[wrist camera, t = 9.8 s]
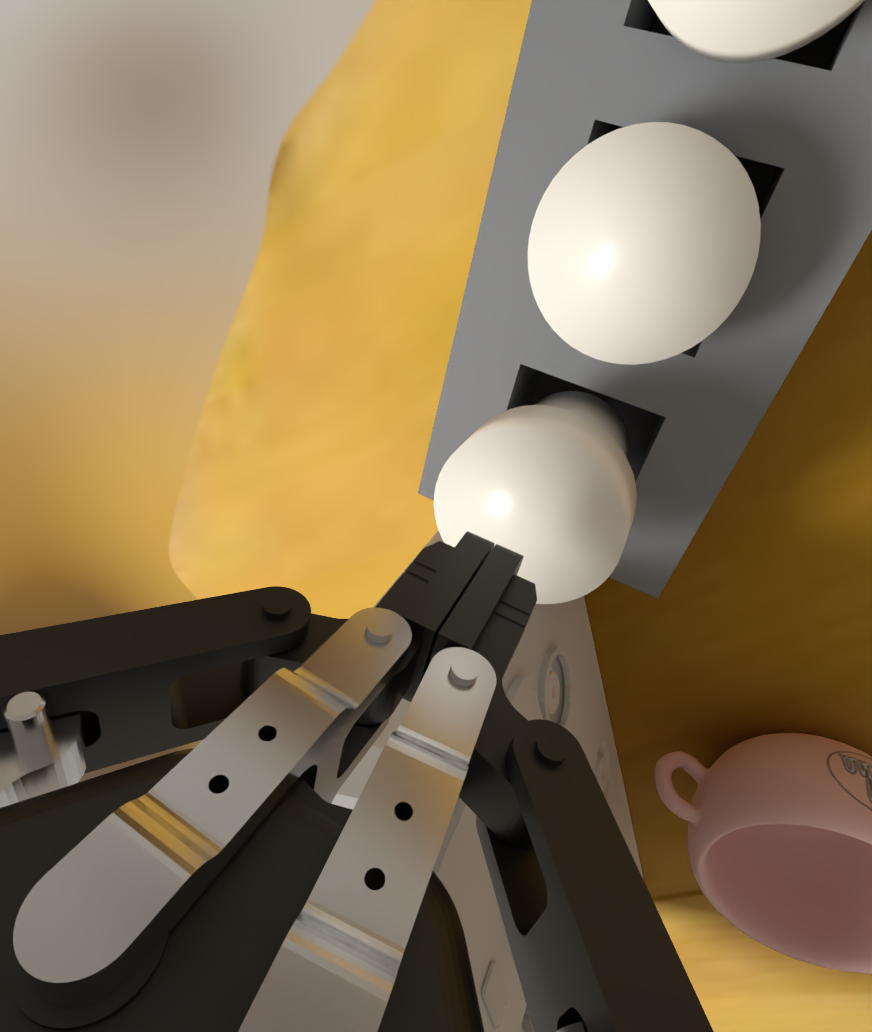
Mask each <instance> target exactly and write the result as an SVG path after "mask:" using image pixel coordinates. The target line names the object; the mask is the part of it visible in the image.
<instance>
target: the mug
mask: <svg viewBox="0 0 872 1032" xmlns="http://www.w3.org/2000/svg"><path fill="white" fill-rule="evenodd" d="M676 768H682V769H684V770H685V771H686V772H687V773H689V774H690V775H691V776H692V778H693V779H694V780H695V781H696V782H697V784H698V787H697V789H696V791H695V794H694V796H693V799H692V802H691V804H690V803H688V802H687V801H685V800H684V799H682V798H681V797H680V796H679V795H678V794H677V792H676V791H675V789H674V786H673V784H672V780H671V775H672V772H673V771H674V770H675V769H676ZM655 784H656V788H657V791H658V794H659V796H660V798H661V800H662V801H663V803H664V804H665V806H666V807H667V808H668V809H669V810H670V811H671V812H673V813H674V814H675V815H677V816H678V817H680V818H681V819H684V820H687V821H689V823H688V830H687V846H688V854H689V860H690V865H691V870H692V873H693V875H694V877H695V879H696V881H697V883H698V885H699V887H700V889H701V891H702V893H703V894H704V896H705V897H706V898H707V899H708V901H709V902H710V903H711V904H712V906H713V907H714V908H715V909H716V910H717V911H718V912H719V913H720V914H721V915H722V916H724V917H725V918H726V919H727V920H728V921H729V922H730V923H731V924H732V925H734V926H735V927H736V928H738V929H739V930H741V931H742V932H744V933H745V934H747V935H748V936H750V937H751V938H753V939H754V940H756V941H758V942H760V943H762V944H764V945H766V946H767V947H769V948H771V949H773V950H775V951H778V952H780V953H783V954H785V955H788V956H790V957H792V958H795V959H798V960H801V961H804V962H808V963H811V964H814V965H818V966H821V967H826V968H831V969H836V970H841V971H846V972H857V973H869V974H872V756H870V755H868V754H867V753H865V752H863V751H861V750H858V749H856V748H854V747H852V746H849V745H847V744H845V743H842V742H839V741H836V740H832V739H829V738H825V737H822V736H816V735H809V734H803V733H775V734H767V735H761V736H758V737H755V738H751V739H748V740H745V741H742V742H741V743H739V744H737V745H735V746H733V747H731V748H730V749H728V750H727V751H725V752H724V753H723V754H722V755H721V756H720V757H719V758H718V759H717V760H716V761H715V762H714V764H713V765H712V766H711V767H710V768H709V769H707V768H705V767H704V766H703V765H702V764H701V763H700V762H699V761H698V760H697V759H695V758H694V757H693V756H691V755H689V754H688V753H685V752H681V751H676V752H671V753H668V754H666V755H664V756H662V757H661V758H660V759H659V760H658V762H657V764H656V767H655Z"/></svg>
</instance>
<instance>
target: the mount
mask: <svg viewBox="0 0 872 1032" xmlns="http://www.w3.org/2000/svg"><path fill="white" fill-rule="evenodd" d="M647 122H669V123H675V124H681V125H685V126H688V127H691V128H694V129H697V130H700V131H702V132H704V133H705V134H707V135H709V136H711V137H713V138H715V139H716V140H717V141H719V142H720V143H721V144H722V145H724V146H725V147H726V148H728V149H729V150H730V151H731V152H732V153H733V154H734V155H735V156H736V158H737V159H738V160H739V161H740V162H741V164H742V165H743V167H744V168H745V170H746V172H747V173H748V175H749V178H750V180H751V182H752V184H753V186H754V190H755V193H756V197H757V201H758V205H759V213H760V221H761V233H760V245H759V252H758V258H757V261H756V265H755V268H754V272H753V274H752V277H751V279H750V282H749V284H748V286H747V289H746V290H745V292H744V294H743V296H742V297H741V299H740V301H739V303H738V304H737V305H736V307H735V308H734V309H733V311H732V312H731V314H730V315H729V316H728V317H727V318H726V320H725V321H724V322H723V323H722V324H721V325H720V326H719V327H718V328H717V329H716V330H715V331H714V332H712V333H711V334H710V335H709V336H708V337H706V338H705V339H704V340H702V341H701V342H699V343H698V344H696V345H695V346H693V347H692V348H690V349H688V350H686V351H684V352H682V353H680V354H678V355H675V356H673V357H670V358H667V359H664V360H661V361H656V362H652V363H646V364H637V365H629V364H616V363H609V362H605V361H601V360H598V359H595V358H592V357H590V356H588V355H585V354H583V353H581V352H580V351H578V350H576V349H575V348H573V347H571V346H570V345H569V344H568V343H566V342H565V341H564V340H563V339H561V337H560V336H559V335H558V334H557V333H556V332H555V331H554V330H553V329H552V328H551V326H550V325H549V324H548V322H547V321H546V320H545V318H544V316H543V315H542V313H541V311H540V309H539V307H538V305H537V303H536V300H535V298H534V295H533V292H532V288H531V284H530V279H529V272H528V243H529V235H530V231H531V226H532V222H533V219H534V216H535V213H536V210H537V207H538V205H539V203H540V201H541V199H542V197H543V195H544V193H545V191H546V190H547V188H548V186H549V185H550V183H551V181H552V180H553V179H554V177H555V176H556V175H557V173H558V172H559V171H560V170H561V168H562V167H563V166H564V165H565V164H566V163H567V162H568V161H569V160H570V159H571V158H572V157H573V156H574V155H575V154H576V153H578V152H579V151H580V150H581V149H583V148H584V147H585V146H587V145H588V144H589V143H591V142H593V141H594V140H596V139H598V138H599V137H601V136H603V135H605V134H607V133H610V132H612V131H614V130H617V129H619V128H623V127H626V126H630V125H634V124H640V123H647ZM871 230H872V0H865V1H864V2H863V3H862V4H861V5H860V6H859V7H858V8H857V9H856V10H854V11H853V12H852V13H851V14H850V15H849V16H848V17H846V18H845V19H844V20H843V21H842V22H841V23H839V24H838V25H836V26H835V27H834V28H832V29H831V30H830V31H828V32H827V33H825V34H824V35H823V36H821V37H819V38H817V39H816V40H814V41H812V42H810V43H809V44H807V45H805V46H803V47H801V48H799V49H797V50H794V51H792V52H790V53H787V54H785V55H782V56H778V57H775V58H772V59H768V60H764V61H758V62H751V63H728V62H721V61H715V60H712V59H709V58H706V57H703V56H700V55H698V54H697V53H695V52H693V51H691V50H689V49H687V48H686V47H685V46H684V45H682V44H681V43H680V42H678V41H677V40H676V39H675V38H674V37H673V36H672V35H671V34H670V33H669V31H668V30H667V29H666V28H665V26H664V25H663V23H662V22H661V20H660V19H659V17H658V16H657V14H656V13H655V11H654V9H653V8H652V6H651V5H650V3H649V1H648V0H532V3H531V7H530V12H529V16H528V20H527V25H526V29H525V33H524V38H523V42H522V46H521V51H520V55H519V59H518V64H517V68H516V72H515V77H514V81H513V85H512V90H511V94H510V98H509V103H508V107H507V111H506V115H505V120H504V124H503V128H502V133H501V137H500V141H499V146H498V150H497V154H496V159H495V163H494V167H493V172H492V176H491V180H490V185H489V189H488V193H487V198H486V202H485V206H484V211H483V215H482V219H481V223H480V228H479V232H478V236H477V241H476V245H475V249H474V254H473V258H472V262H471V267H470V271H469V275H468V280H467V284H466V288H465V293H464V297H463V301H462V306H461V310H460V314H459V319H458V323H457V327H456V332H455V336H454V340H453V344H452V349H451V353H450V357H449V362H448V366H447V370H446V375H445V379H444V383H443V388H442V392H441V396H440V401H439V405H438V409H437V414H436V418H435V422H434V427H433V431H432V435H431V440H430V444H429V448H428V452H427V457H426V461H425V465H424V470H423V474H422V478H421V483H420V487H419V491H418V493H419V494H421V495H423V496H425V497H428V498H430V499H432V500H434V493H435V487H436V483H437V480H438V477H439V474H440V472H441V470H442V468H443V466H444V464H445V463H446V461H447V460H448V459H449V457H450V456H451V455H452V454H453V453H454V452H455V451H456V450H457V449H458V448H459V447H460V446H461V445H462V444H463V443H464V442H465V441H466V440H467V439H468V438H469V437H470V436H471V435H472V434H473V433H474V432H475V431H476V430H477V429H478V428H479V427H481V426H482V425H483V424H484V423H485V422H486V421H488V420H489V419H490V418H492V417H494V416H496V415H497V414H499V413H501V412H504V411H506V410H509V409H512V408H516V407H520V406H527V405H535V404H536V403H537V402H539V401H540V400H541V399H543V398H545V397H547V396H549V395H552V394H554V393H558V392H563V391H579V392H585V393H588V394H592V395H594V396H596V397H599V398H600V399H602V400H604V401H605V402H607V403H608V404H609V405H610V406H612V407H613V408H614V409H615V410H616V411H617V413H618V414H619V415H620V417H621V418H622V420H623V422H624V424H625V426H626V428H627V431H628V435H629V441H630V451H629V457H628V461H629V464H630V466H631V469H632V471H633V474H634V479H635V483H636V492H637V501H636V510H635V514H634V519H633V522H632V525H631V528H630V531H629V534H628V537H627V540H626V543H625V546H624V549H623V552H622V555H621V557H620V560H619V562H618V564H617V566H616V567H615V569H614V571H613V572H612V574H611V575H610V576H609V577H610V578H612V579H614V580H616V581H619V582H621V583H623V584H625V585H628V586H630V587H632V588H635V589H637V590H639V591H641V592H644V593H646V594H648V595H650V596H653V597H655V598H657V599H658V597H659V595H660V594H661V592H662V590H663V589H664V587H665V585H666V583H667V582H668V580H669V578H670V576H671V575H672V573H673V571H674V570H675V568H676V566H677V564H678V563H679V561H680V559H681V557H682V556H683V554H684V552H685V551H686V549H687V547H688V545H689V544H690V542H691V540H692V539H693V537H694V535H695V533H696V532H697V530H698V528H699V526H700V525H701V523H702V521H703V520H704V518H705V516H706V514H707V513H708V511H709V509H710V508H711V506H712V504H713V502H714V501H715V499H716V497H717V495H718V494H719V492H720V490H721V489H722V487H723V485H724V483H725V482H726V480H727V478H728V477H729V475H730V473H731V471H732V470H733V468H734V466H735V464H736V463H737V461H738V459H739V458H740V456H741V454H742V452H743V451H744V449H745V447H746V446H747V444H748V442H749V440H750V439H751V437H752V435H753V433H754V432H755V430H756V428H757V427H758V425H759V423H760V421H761V420H762V418H763V416H764V415H765V413H766V411H767V409H768V408H769V406H770V404H771V402H772V401H773V399H774V397H775V396H776V394H777V392H778V390H779V389H780V387H781V385H782V384H783V382H784V380H785V378H786V377H787V375H788V373H789V371H790V370H791V368H792V366H793V365H794V363H795V361H796V359H797V358H798V356H799V354H800V353H801V351H802V349H803V347H804V346H805V344H806V342H807V340H808V339H809V337H810V335H811V334H812V332H813V330H814V328H815V327H816V325H817V323H818V321H819V320H820V318H821V316H822V315H823V313H824V311H825V309H826V308H827V306H828V304H829V303H830V301H831V299H832V297H833V296H834V294H835V292H836V290H837V289H838V287H839V285H840V284H841V282H842V280H843V278H844V277H845V275H846V273H847V272H848V270H849V268H850V266H851V265H852V263H853V261H854V259H855V258H856V256H857V254H858V253H859V251H860V249H861V247H862V246H863V244H864V242H865V241H866V239H867V237H868V235H869V234H870V232H871Z"/></svg>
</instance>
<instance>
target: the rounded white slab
mask: <svg viewBox="0 0 872 1032" xmlns="http://www.w3.org/2000/svg"><path fill="white" fill-rule="evenodd" d="M439 541H441V542H443V540H442V538H441V535H440V533H439V530H438V532H437V533H436V534H435V535H434V536H433V537H432V539H431V540H430V541H429V542H428V543H427V544H426V546H425V547H427V546H430V545H432V544H434V543H436V542H439ZM425 547H424V548H425ZM421 551H422V550H421ZM417 556H418V555H417ZM417 556H416V557H417ZM416 557H415V558H416ZM413 561H414V560H413ZM413 561H412V562H411V563H413ZM411 563H410V564H411ZM407 568H408V567H407ZM407 568H406V569H407ZM406 569H405V570H406ZM405 570H404V572H405ZM404 572H403V573H404ZM403 573H402V574H403ZM402 574H401V575H402ZM401 575H400V576H401ZM400 576H399V577H400ZM399 577H398V579H399ZM398 579H397V580H398ZM397 580H396V581H397ZM396 581H395V582H396ZM395 582H394V583H395ZM394 583H393V585H394ZM393 585H392V586H393ZM392 586H391V587H392ZM391 587H390V588H391ZM390 588H389V589H390ZM389 589H388V590H387V592H388V591H389ZM387 592H386V593H387ZM386 593H385V594H386ZM385 594H384V595H383V596H382V597H381V599H382V598H383V597H384V596H385ZM381 599H380V600H381ZM380 600H379V601H378V602H377V603H376V605H377V604H378V603H379V602H380ZM376 605H375V606H376ZM375 606H374V607H373V608H375ZM502 684H503V689H504V692H505V694H506V697H507V698H508V700H509V702H510V703H511V704H512V706H513V707H514V708H515V709H516V710H517V711H518V712H519V713H520V714H521V715H523V716H524V717H525V718H526V719H527V720H528V721H530V720H535V719H543V720H549V721H552V722H555V723H557V724H559V725H561V726H563V727H564V728H566V729H567V730H568V731H569V732H571V733H572V734H573V735H574V737H575V738H576V739H577V740H578V742H579V743H580V745H581V747H582V749H583V751H584V753H585V755H586V757H587V759H588V762H589V764H590V766H591V768H592V770H593V772H594V775H595V777H596V779H597V781H598V783H599V785H600V788H601V790H602V792H603V794H604V796H605V798H606V801H607V803H608V805H609V807H610V809H611V811H612V814H613V816H614V818H615V820H616V822H617V824H618V826H619V829H620V831H621V833H622V835H623V837H624V839H625V842H626V844H627V846H628V848H629V850H630V852H631V855H632V857H633V859H634V861H635V863H636V865H637V868H638V870H639V872H640V874H641V876H642V878H643V873H642V868H641V863H640V859H639V854H638V849H637V845H636V840H635V835H634V830H633V826H632V821H631V816H630V811H629V807H628V802H627V797H626V792H625V788H624V783H623V778H622V773H621V769H620V764H619V759H618V754H617V750H616V745H615V740H614V735H613V731H612V726H611V721H610V717H609V712H608V707H607V702H606V698H605V693H604V688H603V683H602V679H601V674H600V669H599V664H598V660H597V655H596V650H595V645H594V641H593V636H592V631H591V626H590V622H589V617H588V612H587V608H586V603H585V598H584V596H582V597H580V598H578V599H574V600H571V601H568V602H563V603H556V604H535V607H534V609H533V611H532V614H531V616H530V618H529V621H528V623H527V625H526V628H525V630H524V632H523V635H522V637H521V639H520V642H519V644H518V646H517V648H516V650H515V652H514V655H513V657H512V659H511V661H510V663H509V665H508V668H507V670H506V672H505V674H504V676H503V678H502ZM410 703H411V702H409V701H407V700H405V699H403V698H402V700H401V701H400V703H399V705H398V706H397V708H396V709H395V711H394V712H393V714H392V715H391V716H390V720H389V723H388V725H387V726H386V728H385V729H384V730H383V732H382V733H381V734H380V736H379V737H378V738H377V740H376V741H375V742H374V744H373V745H372V746H371V748H370V749H369V750H368V752H367V753H366V754H365V756H364V757H363V758H362V760H361V761H360V762H359V764H358V765H357V766H356V768H355V769H354V770H353V772H352V773H351V774H350V776H349V777H348V778H347V779H346V781H345V782H344V783H343V785H342V786H341V788H340V789H339V791H338V792H337V794H336V796H335V797H334V799H333V801H332V804H334V805H338V806H341V807H345V808H349V809H352V810H353V809H354V807H355V805H356V803H357V801H358V799H359V797H360V795H361V793H362V791H363V789H364V787H365V785H366V783H367V781H368V779H369V777H370V775H371V773H372V771H373V769H374V767H375V765H376V763H377V761H378V759H379V757H380V755H381V753H382V751H383V749H384V747H385V745H386V743H387V741H388V739H389V737H390V736H391V734H392V733H393V732H394V731H395V732H396V731H397V729H398V727H399V725H400V723H401V721H402V719H403V717H404V715H405V713H406V711H407V709H408V707H409V705H410ZM433 871H434V873H435V874H436V875H437V876H438V878H439V879H440V880H441V882H442V883H443V885H444V886H445V888H446V890H447V891H448V893H449V895H450V896H451V899H452V901H453V903H454V905H455V907H456V909H457V912H458V915H459V918H460V921H461V924H462V927H463V931H464V935H465V939H466V944H467V949H468V954H469V959H470V963H471V968H472V973H473V978H474V983H475V988H476V993H477V998H478V1002H479V1007H480V1012H481V1017H482V1022H483V1027H484V1032H534V1029H533V1026H532V1022H531V1019H530V1015H529V1012H528V1008H527V1005H526V1001H525V998H524V994H523V991H522V987H521V984H520V980H519V977H518V973H517V969H516V966H515V962H514V959H513V955H512V952H511V948H510V945H509V941H508V938H507V934H506V931H505V927H504V924H503V920H502V917H501V913H500V910H499V906H498V902H497V899H496V895H495V892H494V888H493V885H492V881H491V878H490V874H489V871H488V867H487V864H486V860H485V857H484V853H483V850H482V846H481V842H480V839H479V835H478V832H477V827H476V814H475V813H474V812H473V811H472V810H471V809H470V808H469V807H468V806H467V805H466V804H465V803H464V802H463V801H462V800H461V799H460V798H459V797H458V800H457V802H456V805H455V808H454V811H453V814H452V817H451V820H450V822H449V825H448V828H447V831H446V834H445V837H444V840H443V842H442V845H441V848H440V851H439V854H438V857H437V859H436V862H435V865H434V868H433Z"/></svg>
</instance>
